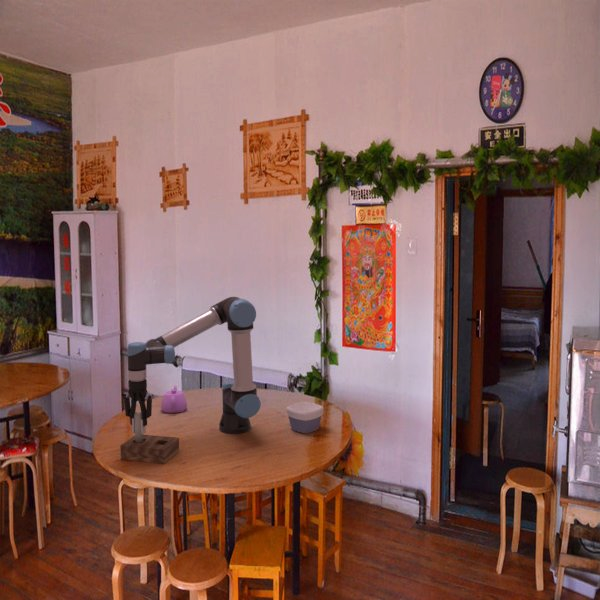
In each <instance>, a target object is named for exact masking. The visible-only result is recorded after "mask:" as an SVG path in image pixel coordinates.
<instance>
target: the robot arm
mask: <svg viewBox="0 0 600 600" xmlns="http://www.w3.org/2000/svg"><path fill="white" fill-rule="evenodd" d="M256 310H257V309H256V308H255V306H254V304H253V303H251V302H250V301H249V300H247V299H244V298H240V297H237V296H229V297H226V298H225V299H222V300H221V301H219V302H217V303H215V304H213V305H212V306H210V307H209V309H208V310H207V311H205V312H203V313H201V314H200V315H197V316H196V317H194V318H192V319H190V320H188V321H186V322H183V324H181V325H179V326H177V327H176V328H173V329H172V330H169V331H168V332H166V333H164V334H162V335H160V336H158V337H156V338H150V339H149V340H147V341H145V342H141V341H139V342H138V341H136V342H135V341H133V342H129V343H128V344H127V353H126V356H127V379H128V386H127V387H128V391H127V392H124V393H122V398H123V403H124V411H125V413H124V414H125V416H126V417H129V419H130V420H129V421H130V422H129V423H130V426H131V430H132V431H131V433H132V434H135V419H134V413H136V411H137V410H136V408H137V404H139V408H140V412H141V414H142V419H141V434H143V435H145V433H146V429H147V428H146V427H147V426H148V419H149V418H150V417H152V410H153V409H152V408H153V398H154V394H150V393H149V392H148V390H147V388H148V387H147V386H148V381H147V365H157V364H158V365H159V364H169V363H173V362H174V361H175V358H176V351H175V348H176V347H178V346H179V345H182V344H184V343H185V342H187V341H189V340H191V339H194V337H196V336H199V335H200V334H202V333H204V332H206V331H208V330H210V329H212V328H213V327H215V326H217V325H219V326H221V325H224V324H227V325H226V326H227V331H228V332H230V334H231V351H232V354H231V355H232V370H233V371H232V372H233V380H229V381H227V382H226V381H225V382H224V383H223V384H222V387H221V391H222V414H221V418H220V420H219V425H218V429H219V431H220V432H223V433H225V434H241V433H247V432H248V431H250V430H251V429H252V425H251V424H252V423H251V420H250V418H252V417H254V416H255V415H257V413H259V411H260V409H261V399H260V398H259V396H258V394H257V392H258V391H257V389H258V388H257V385H256V384H255V383H254V379H253V378H254V376H253V359H252V342H251V341H252V340H251V338H252V336H251V331H252V330H253V329H254V322H255V320H256V319H257V318H256V317H257V311H256ZM137 402H138V403H137Z"/></svg>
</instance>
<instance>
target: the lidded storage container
mask: <svg viewBox="0 0 600 600" xmlns="http://www.w3.org/2000/svg"><path fill="white" fill-rule="evenodd" d="M323 412H324V407H323V406H322V405H321V404H318V403H313V402H309V401H300V402H299V401H298V402H295V403H292V404H290V405H288V406H287V407H286V413H287V416H288V420H289V425H290V429H291V430H292V431H295V432H296V431H297V432H296V433H300V432H301V433H300V434H305V433H306V434H311V433H313V431H314V432H315V431H317V430H318V429H319V427H320V424H321V420H322V415H323ZM310 432H311V433H310Z"/></svg>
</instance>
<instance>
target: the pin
mask: <svg viewBox="0 0 600 600" xmlns="http://www.w3.org/2000/svg"><path fill="white" fill-rule="evenodd" d="M134 419H135V433H134V436H135V442H137V443H143V435H144V434H141V419H142V414H141V411H137V412H136V411H135V413H134Z"/></svg>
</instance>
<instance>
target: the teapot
mask: <svg viewBox="0 0 600 600" xmlns="http://www.w3.org/2000/svg"><path fill="white" fill-rule="evenodd" d="M177 388H178V386H177V385H176V384H175V385H174V386H173V389H170V390H169V391H166V392H165V393H164V395H163V397H162V400H161V402H160V403H161V405H160V406H161V407H160V408H161V410H162V412H163V413H167V414H168V413H169V414H171V413H172V414H175V413H182V412H184V411H186V409H187V407H188V401H187V398H186V396H185V394H184V392H183V391H181V390H178V389H177Z"/></svg>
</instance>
